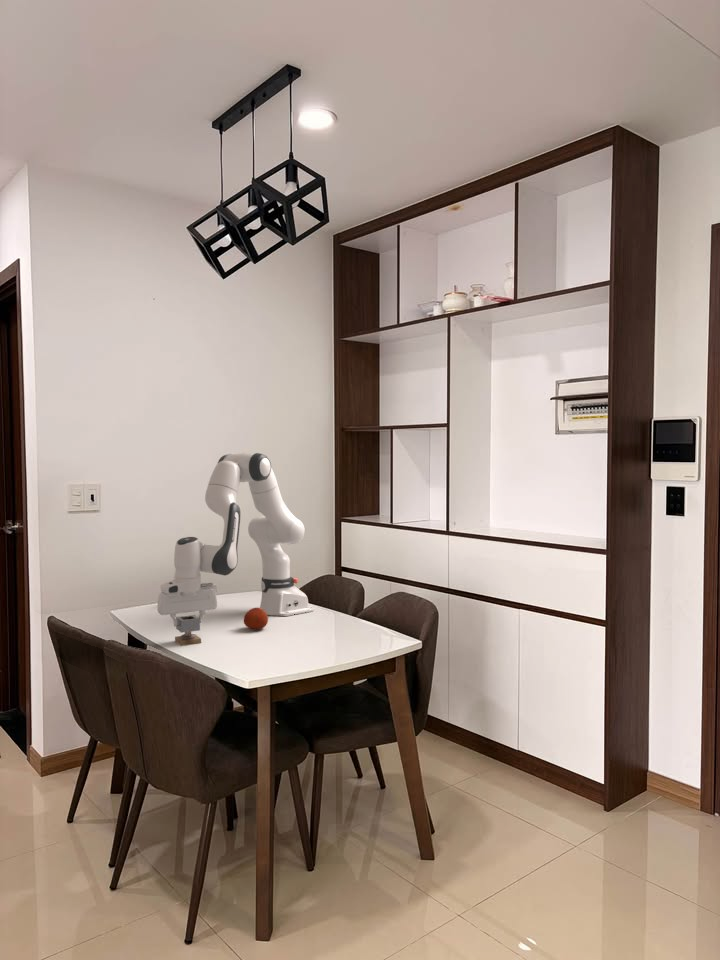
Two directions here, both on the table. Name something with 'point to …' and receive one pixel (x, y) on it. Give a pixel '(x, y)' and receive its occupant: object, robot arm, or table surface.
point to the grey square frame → (188, 623)
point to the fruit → (255, 619)
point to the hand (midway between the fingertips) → (187, 624)
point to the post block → (187, 639)
